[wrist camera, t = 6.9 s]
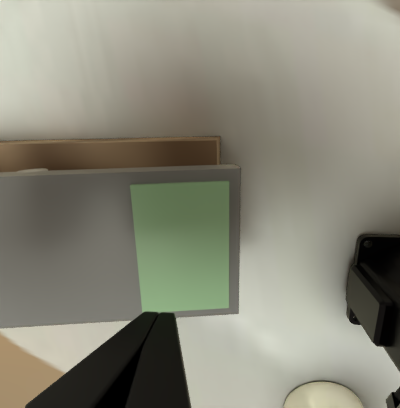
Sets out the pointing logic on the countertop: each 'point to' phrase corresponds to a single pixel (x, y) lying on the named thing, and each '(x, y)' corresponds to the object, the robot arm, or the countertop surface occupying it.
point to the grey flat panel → (118, 243)
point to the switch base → (108, 153)
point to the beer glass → (322, 396)
